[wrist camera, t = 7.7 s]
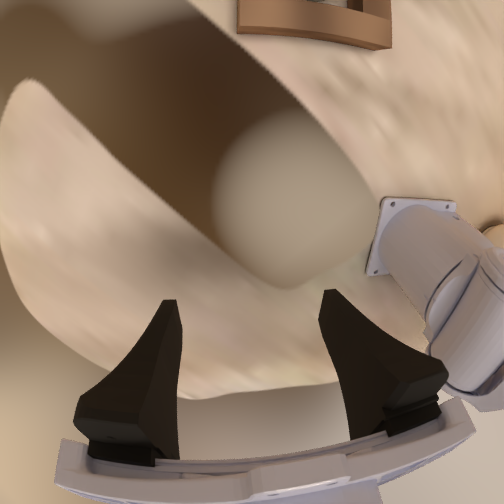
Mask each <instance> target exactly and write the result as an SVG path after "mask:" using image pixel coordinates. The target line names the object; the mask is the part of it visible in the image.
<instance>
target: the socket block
mask: <svg viewBox="0 0 504 504" xmlns="http://www.w3.org/2000/svg"><path fill="white" fill-rule="evenodd" d="M347 4H348V9H347V8H343V7H338V6H334V5H329V4H323V3H317V2H311V1H305V0H237V34H269V35H283V36H294V37H303V38H311V39H319V40H325V41H331V42H337V43H342V44H348V45H352V46H357V47H362V48H366V49H370V50H374V51H375V50H382V49H390V48H392V18H391V0H347Z"/></svg>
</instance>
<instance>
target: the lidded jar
mask: <svg viewBox="0 0 504 504" xmlns="http://www.w3.org/2000/svg"><path fill="white" fill-rule="evenodd" d="M482 234H483V235H484V236H486V237H487V238H488V239H489V240H490V241H491V242H492V244H493V245H494V247H501V248H503V249H504V224H501V225H497V226H491V227H489V228H487V229H486V230H485V231H484V232H483V233H482Z"/></svg>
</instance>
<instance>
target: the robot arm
mask: <svg viewBox="0 0 504 504" xmlns="http://www.w3.org/2000/svg"><path fill="white" fill-rule="evenodd" d="M392 202H393V204H392V205H391V203H392ZM446 205H447V206H446ZM456 207H457V204H456V202H454V201H446V200H431V199H414V198H393V197H386V198H384V199H383V200H382V203H381V208H380V213H379V218H378V223H377V227H376V232H375V236H374V240H373V244H372V249H371V253H370V257H369V260H368V264H367V268H366V274H367V275H368V276H378V275H388V274H391V275H392V277H393V278H394V279H395V281H396V282H397V283H398V285H399V286H400V287H401V289H402V290H403V291H404V293H405V294H406V296H407V297H408V298H409V300H410V301H411V302H412V304H413V305H414V307H415V308H416V310H417V311H418V312H419V314H420V315H421V317H422V318H423V320H424V321H425V323H426V328H425V330H424V331H423V334H424V335H425V337H426V338H427V340H428V341H429V344H428V346H427V348H426V351H425V354H424V353H421V352H419V351H417V350H415V349H413V348H411V347H409V346H407V345H405V344H403V343H402V342H400V341H398V340H397V339H395V338H393V337H392V336H390V335H389V334H387V333H386V332H385V331H383V330H382V329H380V328H379V327H378V326H376V325H375V324H374V323H373V322H371V321H370V320H369V319H368V318H367V317H366V316H364V315H363V314H362V313H361V312H360V311H359V310H358V309H357V308H355V307H354V306H353V305H352V304H351V303H350V302H349V301H348V300H347V299H346V298H345V297H344V296H343V295H342V294H341V293H340V292H339V291H337V290H336V289H330V290H324V294H323V299H322V304H321V309H320V313H319V318H318V321H319V325H320V329H321V333H322V337H323V339H324V342H325V344H326V347H327V349H328V352H329V354H330V357H331V359H332V362H333V364H334V367H335V369H336V372H337V375H338V378H339V382H340V386H341V390H342V394H343V399H344V403H345V408H346V413H347V419H348V425H349V433H350V441H347V442H344V443H339V444H335V445H331V446H327V447H322V448H317V449H312V450H306V451H301V452H295V453H289V454H282V455H275V456H266V457H256V458H245V459H229V460H180V456H179V445H178V430H177V384H178V375H179V368H180V360H181V352H182V324H181V320H180V316H179V311H178V306H177V301H176V300H163V301H162V303H161V305H160V306H159V308H158V310H157V312H156V314H155V315H154V317H153V319H152V320H151V322H150V324H149V325H148V327H147V328H146V330H145V332H144V333H143V334H142V336H141V337H140V339H139V340H138V342H137V343H136V344H135V346H134V347H133V348H132V350H131V351H130V352H129V353H128V354H127V356H126V357H125V358H124V359H123V360H122V361H121V362H120V363H119V364H118V366H117V367H116V368H115V369H114V370H113V371H112V372H111V373H110V374H108V375H107V376H106V377H105V378H104V379H103V380H102V381H101V382H99V383H98V384H97V385H95V386H94V387H93V388H91V389H90V390H88V391H87V392H86V393H84V394H83V395H81V396H80V398H79V401H78V403H77V407H76V411H75V415H74V419H73V423H74V425H75V427H76V428H77V429H78V430H79V431H80V432H81V433H83V434H84V435H85V436H86V437H87V438H88V439H89V446H88V445H87V444H84V443H81V442H77V441H72V440H68V439H64V438H63V439H61V444H60V450H59V455H58V460H57V466H56V474H55V480H54V483H55V484H56V485H57V486H59V487H61V488H64V489H66V490H68V491H70V492H72V493H75V494H77V495H80V496H82V497H85V498H89V499H93V500H96V501H100V502H105V503H109V504H383V503H382V499H381V496H380V492H379V489H378V486H379V485H382V484H384V483H386V482H389V481H392V480H394V479H396V478H399V477H401V476H403V475H405V474H407V473H410V472H412V471H414V470H416V469H418V468H420V467H422V466H424V465H426V464H428V463H430V462H432V461H434V460H436V459H438V458H440V457H441V456H443V455H445V454H447V453H448V452H450V451H452V450H453V449H455V448H456V447H458V446H459V445H460V444H461V443H463V442H464V441H466V440H467V439H468V438H469V437H471V436H472V435H473V434H475V433H476V429H475V427H474V424H473V423H472V420H471V418H470V416H469V415H468V412H467V410H466V409H465V407H464V405H463V403H462V401H461V399H463V400H465V401H467V402H469V403H470V404H472V405H473V406H474V407H475V408H476V409H477V410H478V411H480V412H489V411H497V410H502V409H504V249H503V248H501V247H494V245H493V244H492V242H491V241H490V240H489V239H488V238H487V237H486V236H484V235H483V234H482V233H481V232H480V231H478V230H477V229H476V228H475V227H473V226H472V225H471V224H470V223H468V222H467V221H466V220H464V219H463V218H462V217H460V216H459V215H458V214H456V213H455V211H456ZM375 270H376V271H375ZM374 271H375V272H374ZM440 389H442V390H443V391H445V392H446V393H448V394H449V395H451V396H454V398H452V399H450V400H448V401H445V402H444V403H442V404H440V405H438V403H437V401H438V399H439V397H438V395H437V392H438V391H439V390H440Z"/></svg>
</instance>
